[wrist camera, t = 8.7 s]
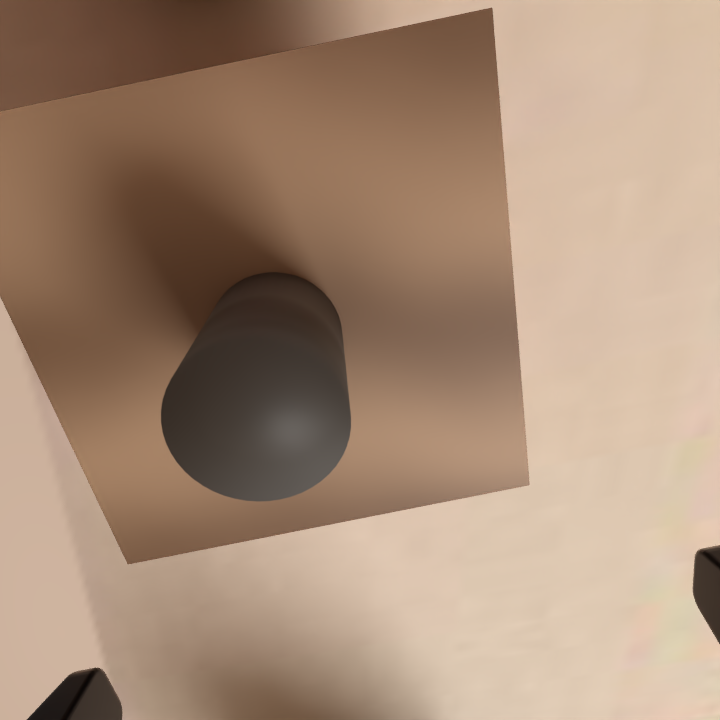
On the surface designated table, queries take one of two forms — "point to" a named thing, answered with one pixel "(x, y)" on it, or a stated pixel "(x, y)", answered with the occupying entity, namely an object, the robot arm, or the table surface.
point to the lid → (273, 286)
